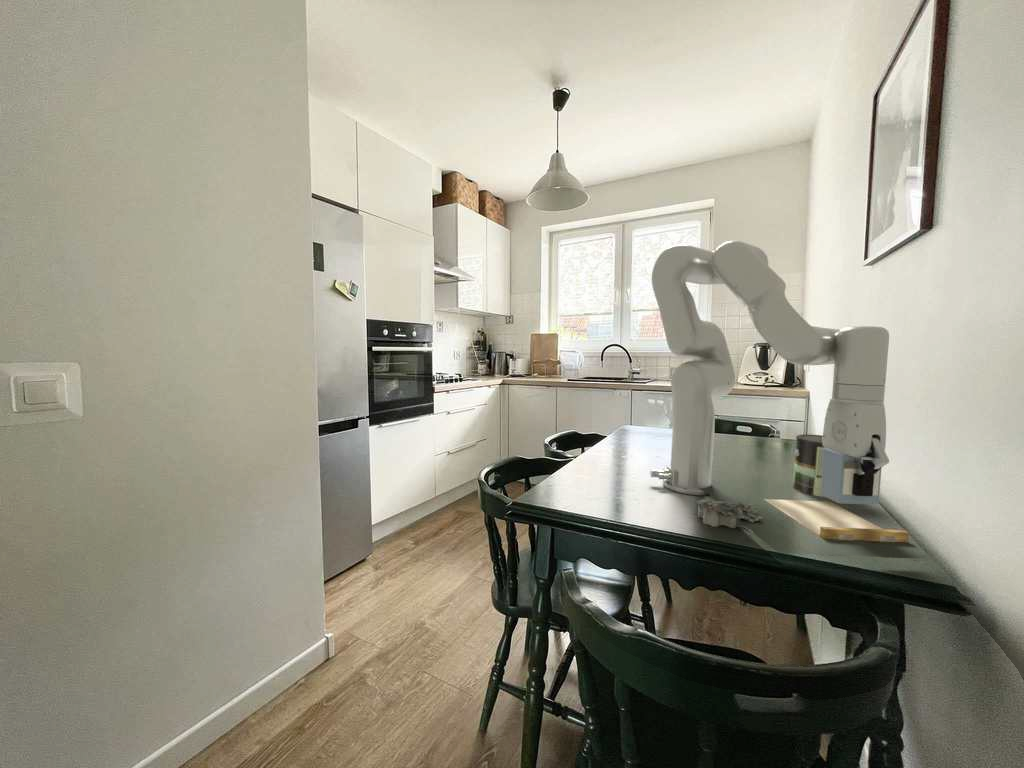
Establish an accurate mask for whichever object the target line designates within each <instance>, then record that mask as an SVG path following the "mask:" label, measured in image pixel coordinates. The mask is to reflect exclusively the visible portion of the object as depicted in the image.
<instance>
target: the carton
mask: <svg viewBox="0 0 1024 768" xmlns="http://www.w3.org/2000/svg"><path fill="white" fill-rule="evenodd" d="M861 457H868V454H866V455H865V456H861ZM867 463H868V461H863V464H864V465H866V464H867ZM854 473H857V470H856V462H855V458H852V457H849V456H847V455H845V454H842V453H839V452H836V451H833V450H830V449H824V455H823V468H822V482H821V495H823V496H825V497H824V498H827V499H829V500H832V501H833V502H835V503H837V504H849V505H850V504H851V505H879V501H880V490H881V479H882V468H881V469H880V470H879V471H878V473H877V475H874V484H873V495H872V496H855V495H853V494H852V489H853V477H854Z"/></svg>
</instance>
